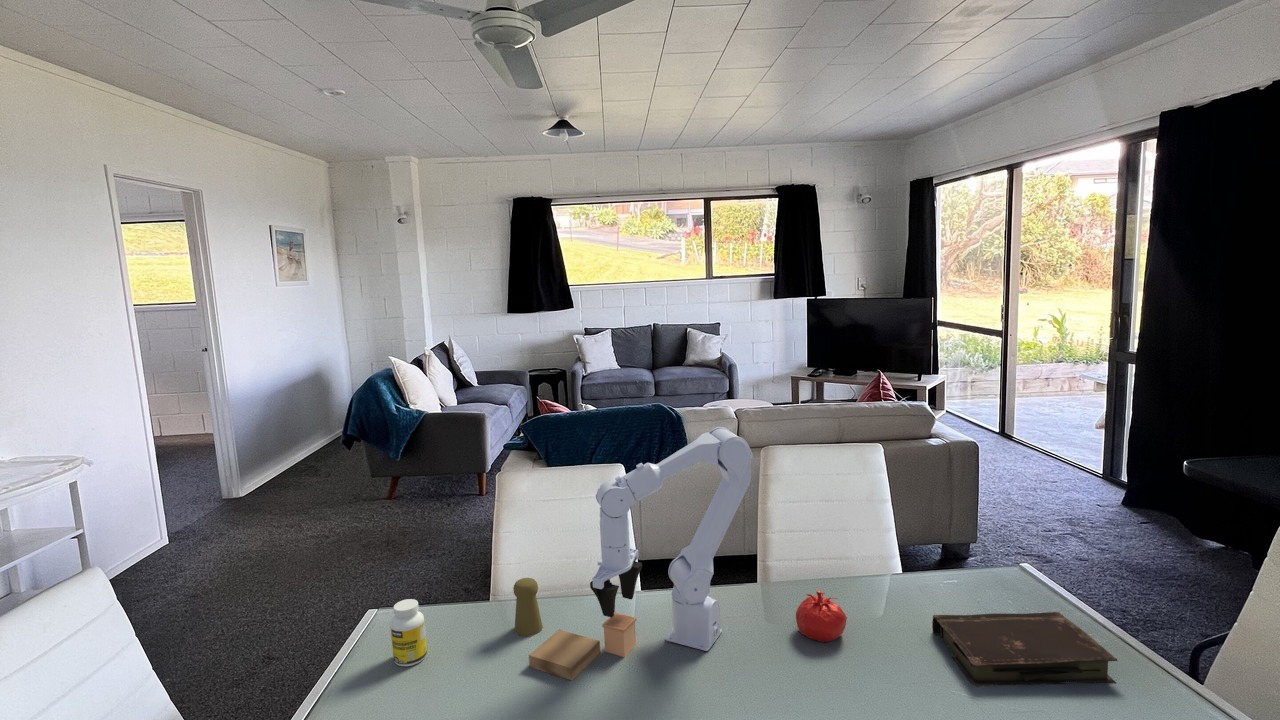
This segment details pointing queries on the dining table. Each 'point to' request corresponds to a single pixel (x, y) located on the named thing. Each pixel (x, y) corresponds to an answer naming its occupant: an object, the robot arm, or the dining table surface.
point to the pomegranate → (820, 618)
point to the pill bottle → (408, 633)
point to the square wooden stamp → (619, 634)
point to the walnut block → (564, 654)
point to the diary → (1023, 649)
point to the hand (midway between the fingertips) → (618, 606)
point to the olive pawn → (527, 608)
